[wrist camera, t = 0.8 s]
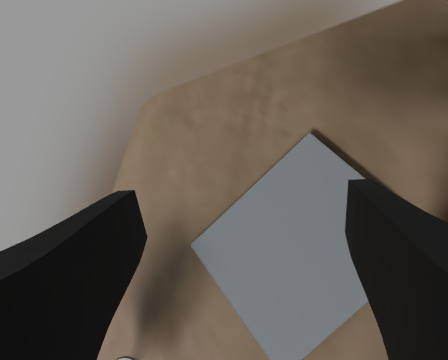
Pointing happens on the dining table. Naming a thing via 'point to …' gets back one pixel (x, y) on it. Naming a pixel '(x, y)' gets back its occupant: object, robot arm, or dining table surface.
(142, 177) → the dining table surface
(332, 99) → the dining table surface
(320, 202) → the mat
